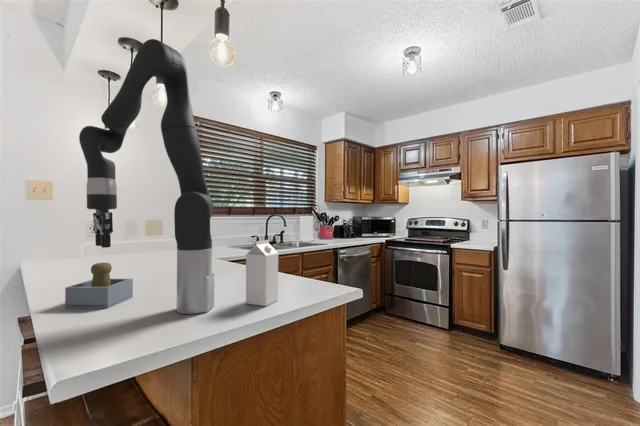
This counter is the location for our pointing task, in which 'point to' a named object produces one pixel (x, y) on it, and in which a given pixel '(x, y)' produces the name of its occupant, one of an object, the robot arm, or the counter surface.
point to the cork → (101, 274)
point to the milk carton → (262, 274)
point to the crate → (98, 294)
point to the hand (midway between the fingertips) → (102, 246)
